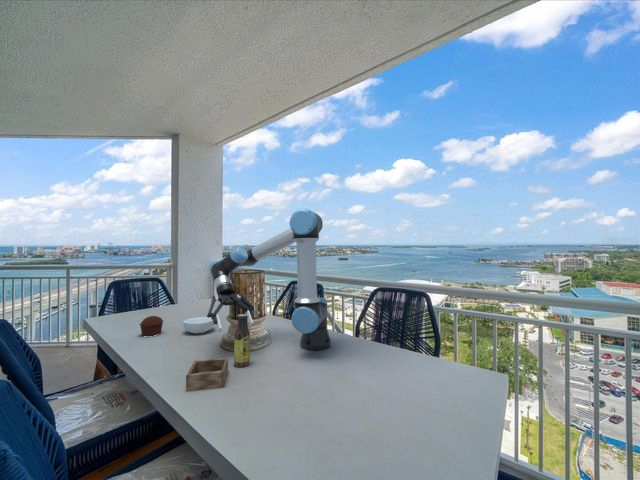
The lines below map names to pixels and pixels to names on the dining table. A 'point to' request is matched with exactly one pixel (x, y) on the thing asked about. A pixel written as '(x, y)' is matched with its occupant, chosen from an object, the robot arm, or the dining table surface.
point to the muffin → (151, 326)
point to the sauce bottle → (242, 342)
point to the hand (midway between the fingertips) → (236, 327)
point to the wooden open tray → (207, 374)
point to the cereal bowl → (198, 324)
